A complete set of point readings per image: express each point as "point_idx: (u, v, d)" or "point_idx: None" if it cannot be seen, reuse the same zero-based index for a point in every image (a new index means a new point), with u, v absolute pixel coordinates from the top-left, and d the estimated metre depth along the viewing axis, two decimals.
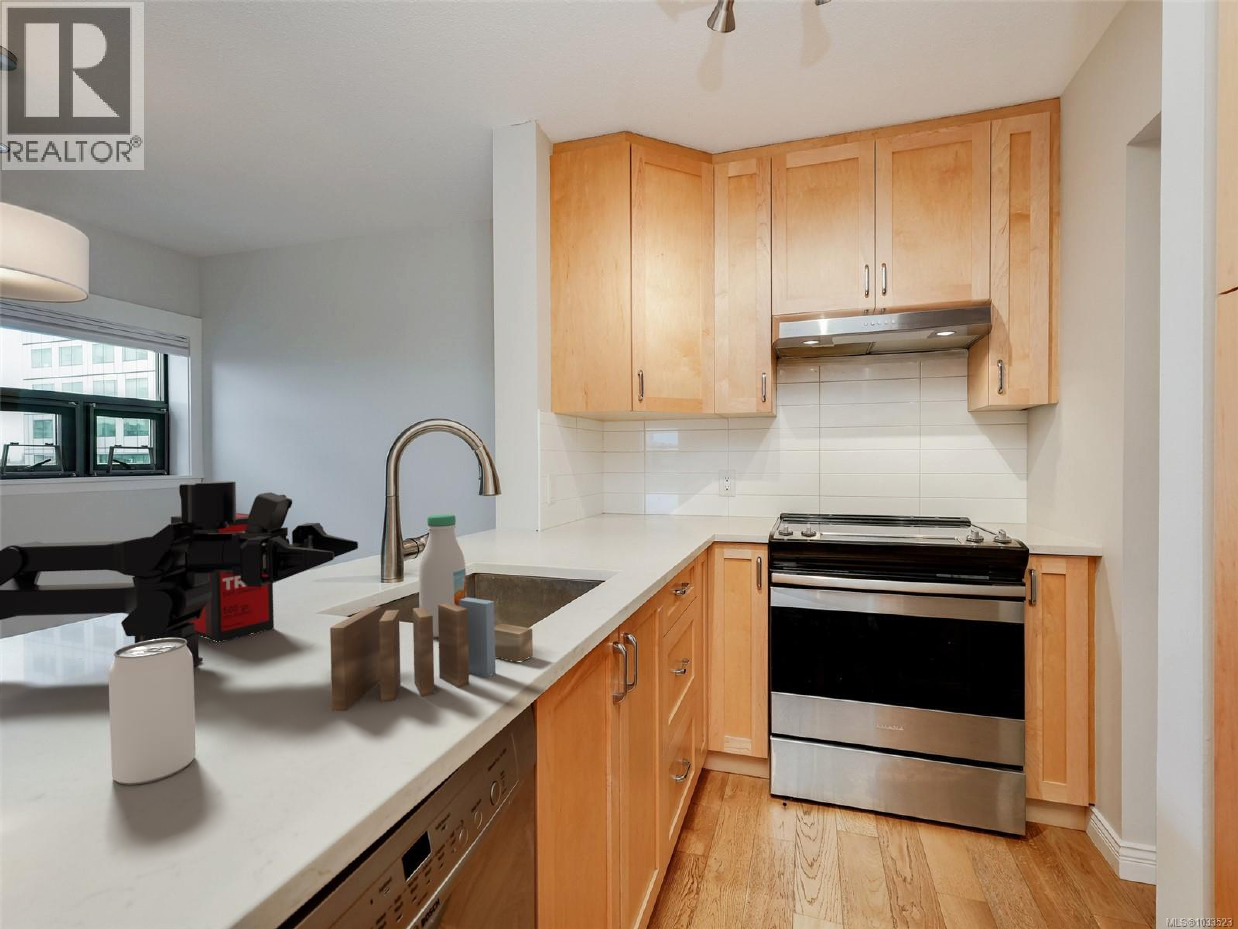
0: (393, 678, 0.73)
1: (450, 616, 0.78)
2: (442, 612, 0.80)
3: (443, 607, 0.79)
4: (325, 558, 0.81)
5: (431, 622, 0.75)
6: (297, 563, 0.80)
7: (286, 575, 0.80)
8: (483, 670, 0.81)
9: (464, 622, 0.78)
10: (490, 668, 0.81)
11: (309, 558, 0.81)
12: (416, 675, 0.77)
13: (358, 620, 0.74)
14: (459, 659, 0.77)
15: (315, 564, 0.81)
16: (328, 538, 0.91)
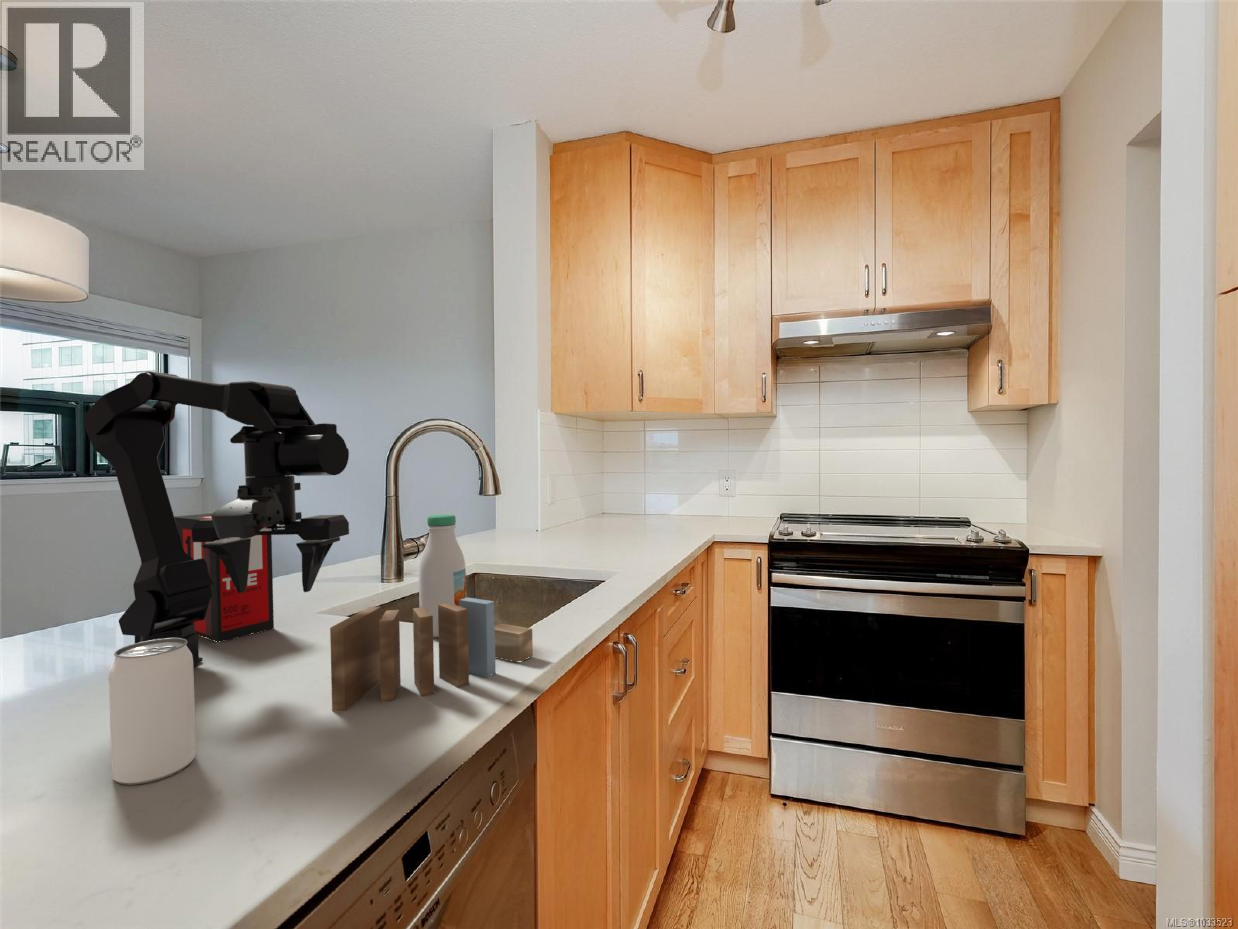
0: (393, 678, 0.73)
1: (450, 616, 0.78)
2: (442, 612, 0.80)
3: (443, 607, 0.79)
4: None
5: (431, 622, 0.75)
6: None
7: None
8: (483, 670, 0.81)
9: (464, 622, 0.78)
10: (490, 668, 0.81)
11: None
12: (416, 675, 0.77)
13: (358, 620, 0.74)
14: (459, 659, 0.77)
15: None
16: None
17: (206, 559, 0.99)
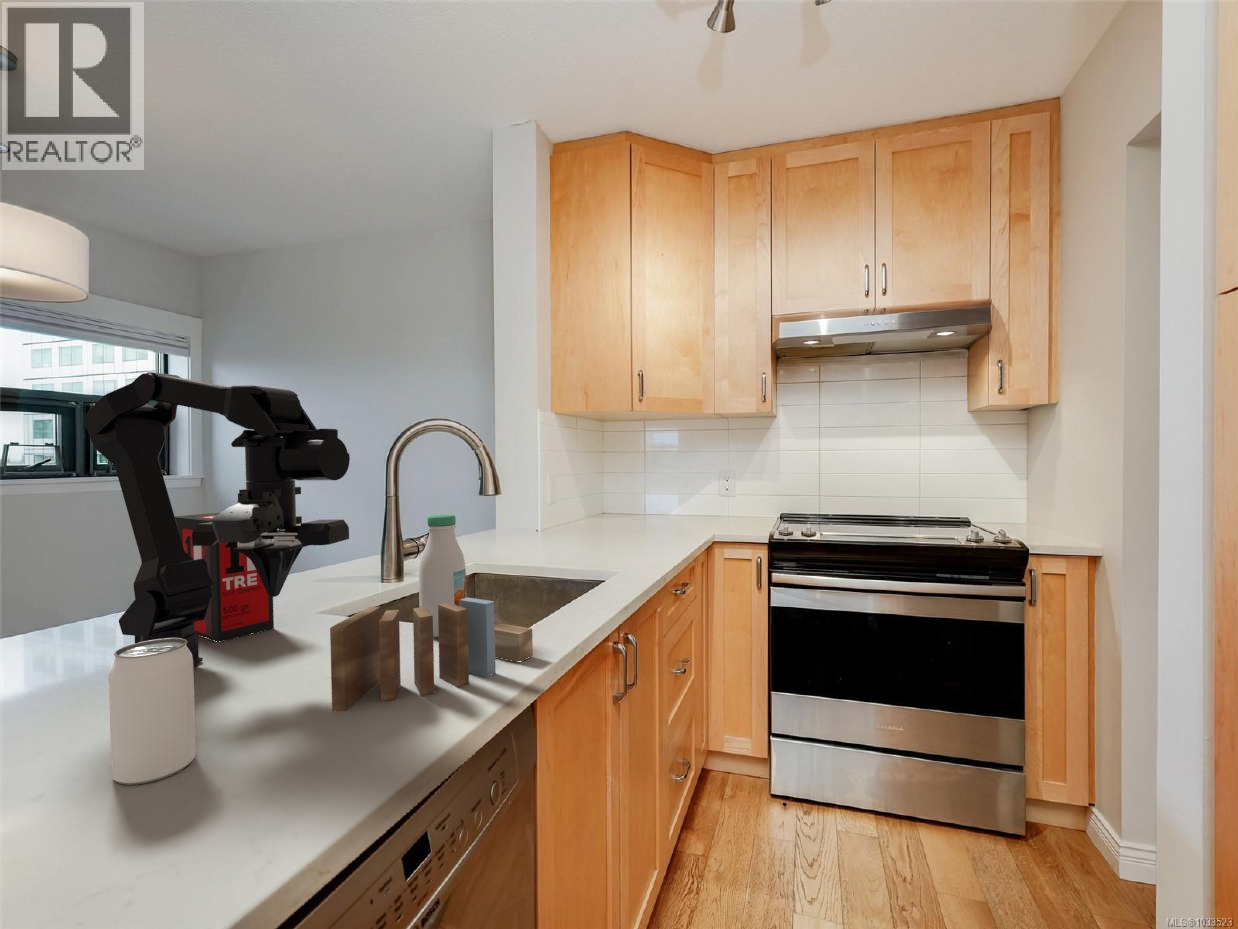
0: (393, 678, 0.73)
1: (450, 616, 0.78)
2: (442, 612, 0.80)
3: (443, 607, 0.79)
4: None
5: (431, 622, 0.75)
6: None
7: None
8: (483, 670, 0.81)
9: (464, 622, 0.78)
10: (490, 668, 0.81)
11: None
12: (416, 675, 0.77)
13: (358, 620, 0.74)
14: (459, 659, 0.77)
15: None
16: None
17: (206, 559, 0.99)
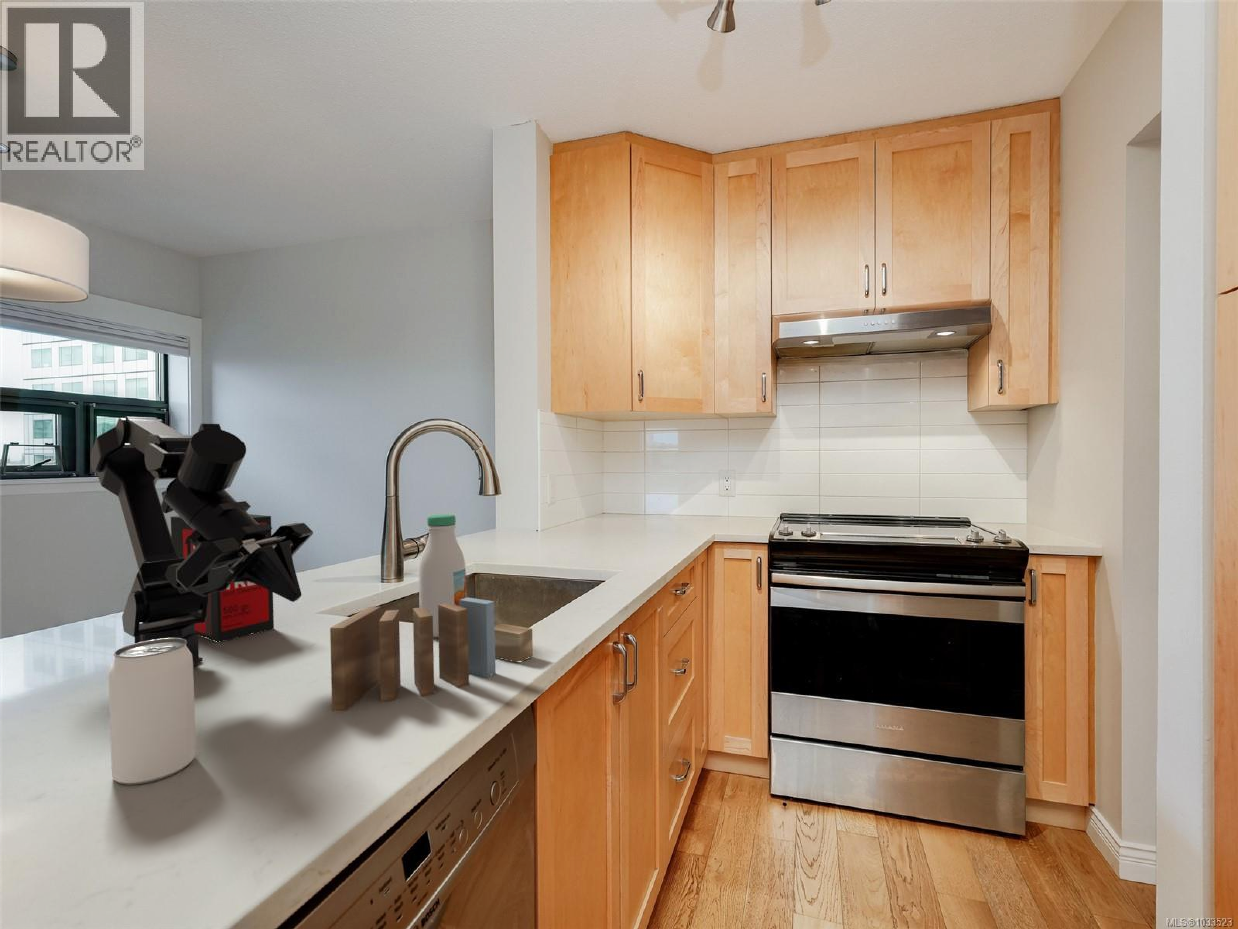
0: (393, 678, 0.73)
1: (450, 616, 0.78)
2: (442, 612, 0.80)
3: (443, 607, 0.79)
4: None
5: (431, 622, 0.75)
6: None
7: (289, 554, 0.78)
8: (483, 670, 0.81)
9: (464, 622, 0.78)
10: (490, 668, 0.81)
11: None
12: (416, 675, 0.77)
13: (358, 620, 0.74)
14: (459, 659, 0.77)
15: None
16: None
17: None
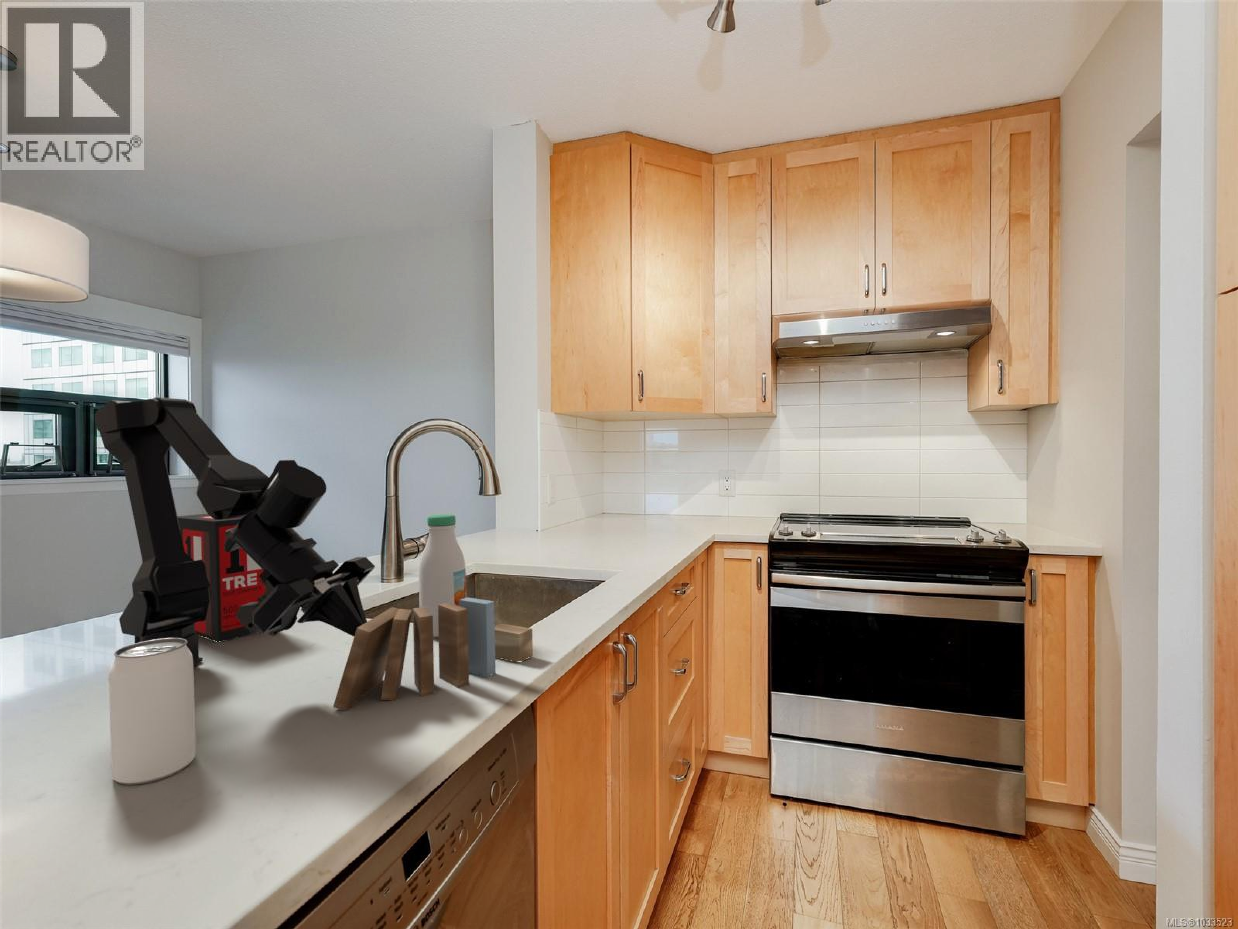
0: (397, 678, 0.73)
1: (450, 616, 0.78)
2: (442, 612, 0.80)
3: (443, 607, 0.79)
4: None
5: (431, 622, 0.75)
6: None
7: (356, 591, 0.77)
8: (483, 670, 0.81)
9: (464, 622, 0.78)
10: (490, 668, 0.81)
11: None
12: (416, 675, 0.77)
13: (383, 624, 0.74)
14: (459, 659, 0.77)
15: None
16: None
17: (206, 559, 0.99)
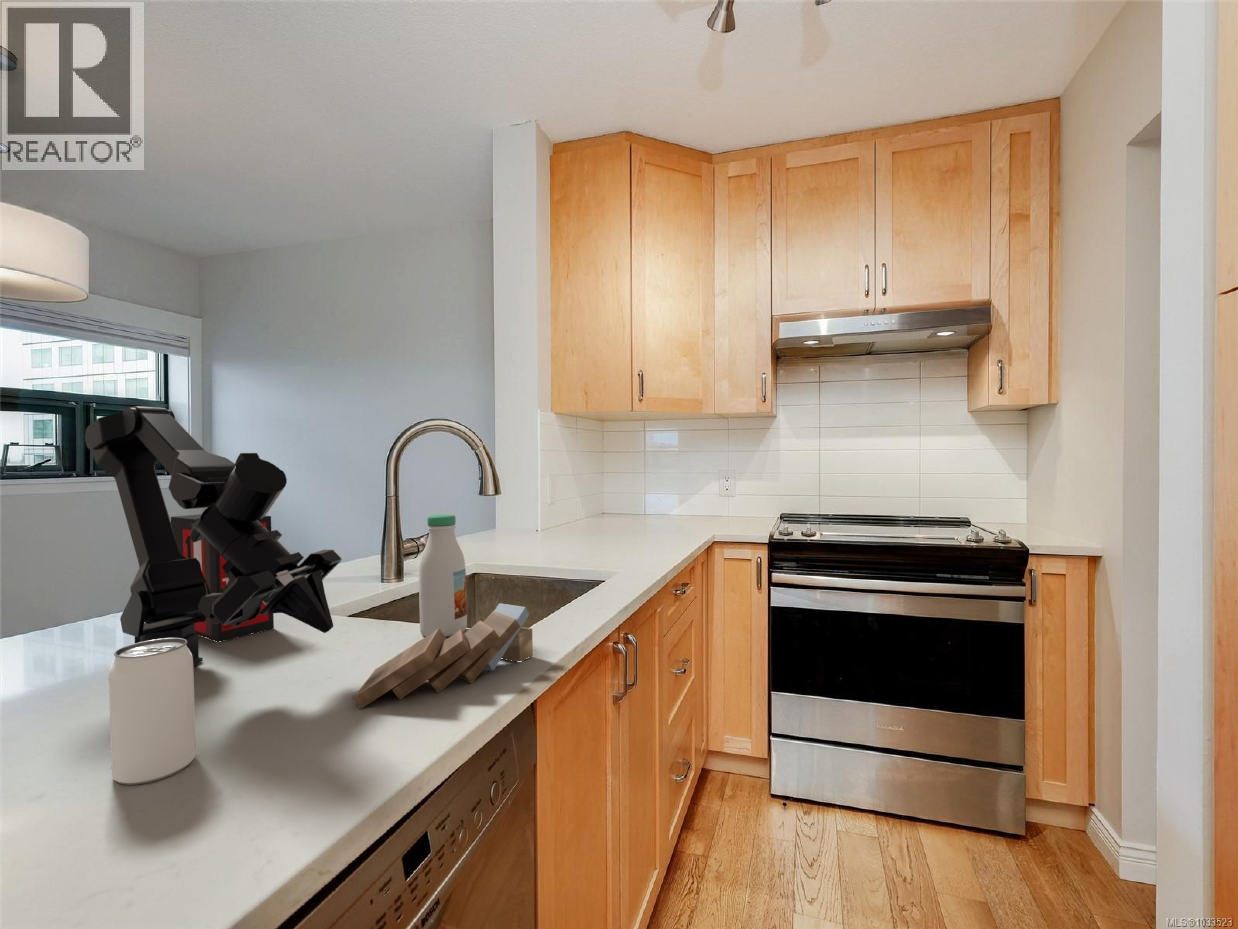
0: (418, 685, 0.74)
1: (504, 621, 0.84)
2: (494, 617, 0.85)
3: (499, 613, 0.86)
4: None
5: (494, 641, 0.79)
6: None
7: (321, 583, 0.78)
8: None
9: (511, 633, 0.83)
10: (493, 660, 0.82)
11: None
12: None
13: (436, 652, 0.76)
14: (485, 655, 0.80)
15: None
16: None
17: (206, 559, 0.99)
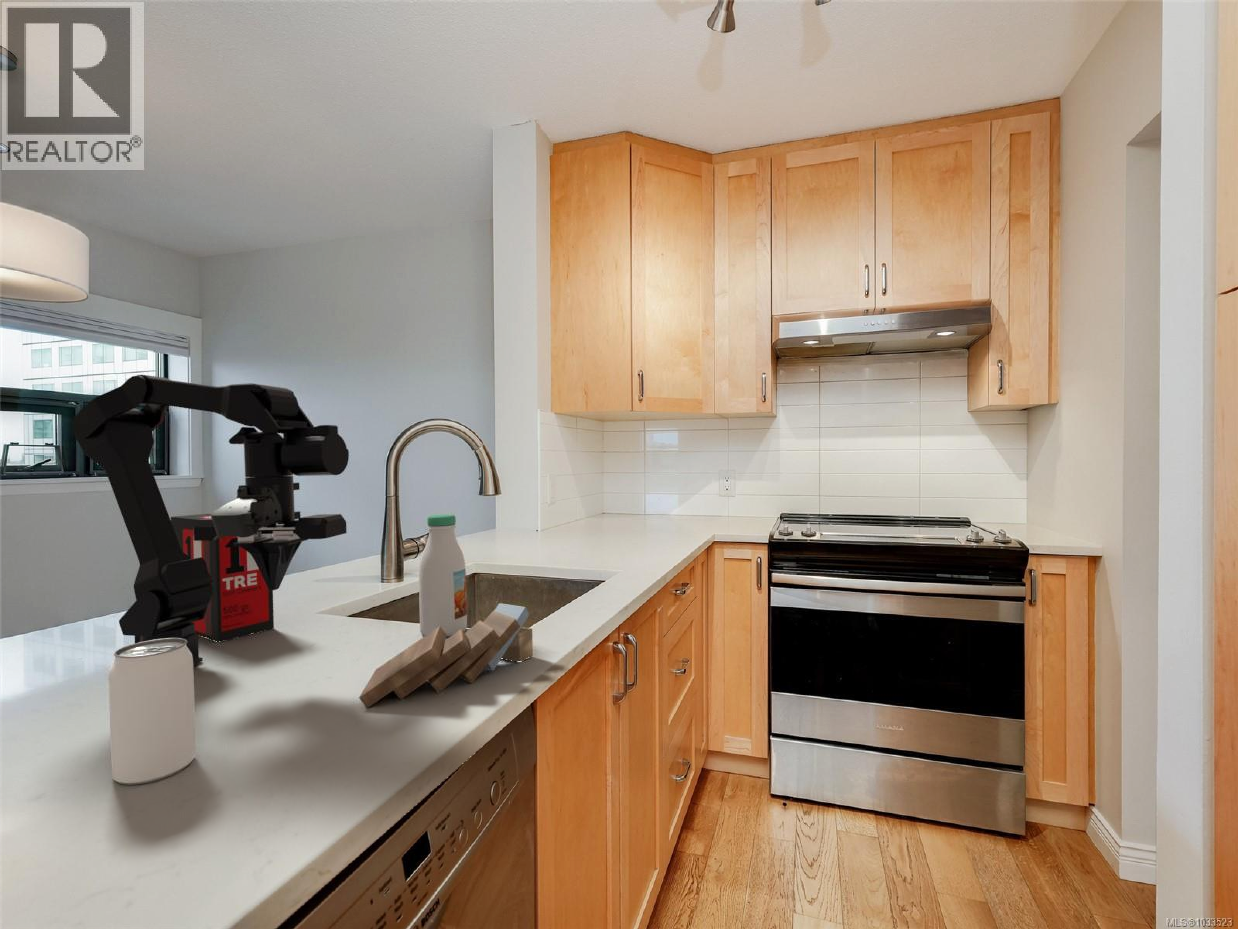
0: (419, 685, 0.74)
1: (504, 621, 0.84)
2: (494, 617, 0.85)
3: (499, 613, 0.86)
4: None
5: (494, 641, 0.79)
6: None
7: None
8: None
9: (511, 633, 0.83)
10: (493, 660, 0.82)
11: None
12: None
13: (441, 649, 0.76)
14: (485, 655, 0.80)
15: None
16: None
17: (206, 559, 0.99)
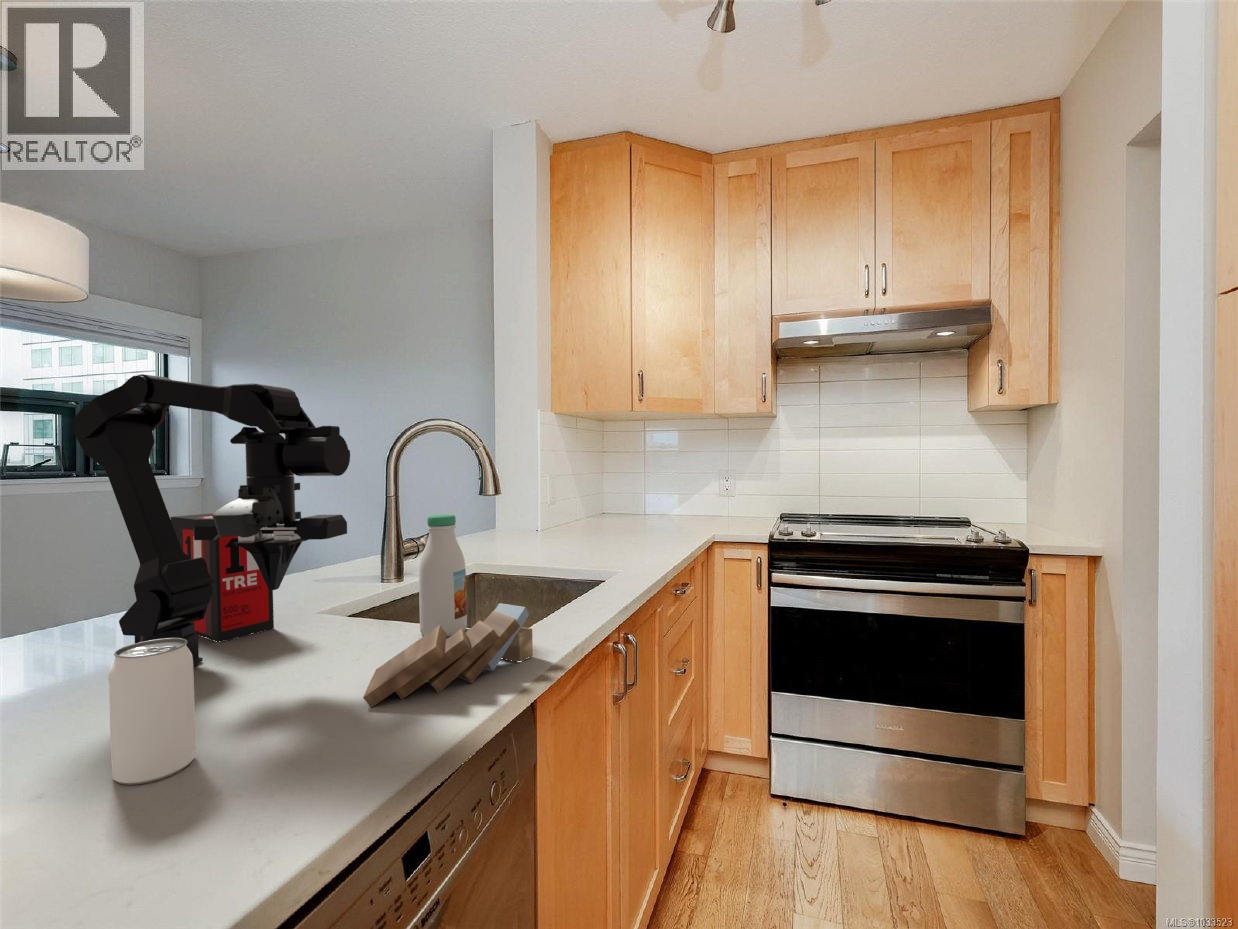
0: (420, 684, 0.74)
1: (503, 621, 0.84)
2: (494, 617, 0.85)
3: (499, 613, 0.86)
4: None
5: (494, 641, 0.79)
6: None
7: None
8: None
9: (510, 633, 0.83)
10: (493, 660, 0.82)
11: None
12: None
13: (443, 648, 0.77)
14: (485, 655, 0.80)
15: None
16: None
17: (206, 559, 0.99)
